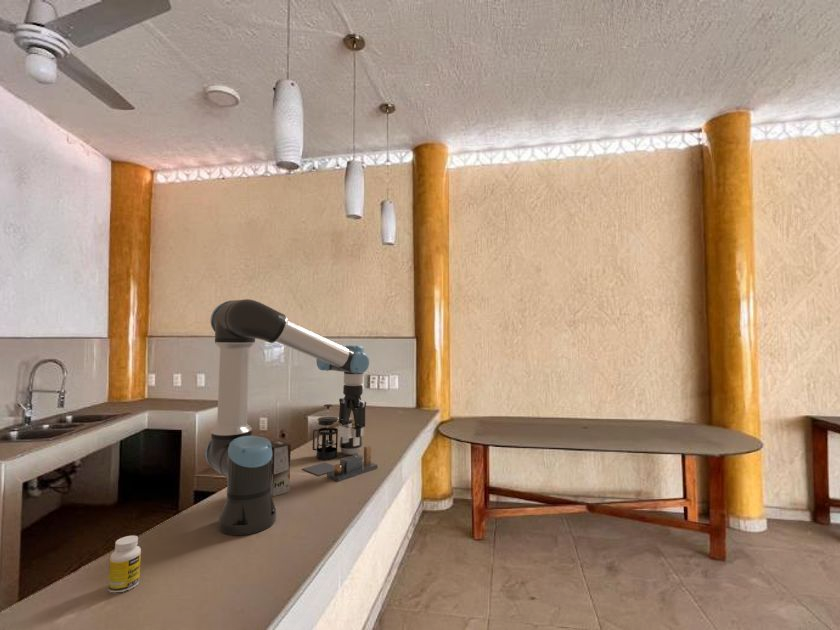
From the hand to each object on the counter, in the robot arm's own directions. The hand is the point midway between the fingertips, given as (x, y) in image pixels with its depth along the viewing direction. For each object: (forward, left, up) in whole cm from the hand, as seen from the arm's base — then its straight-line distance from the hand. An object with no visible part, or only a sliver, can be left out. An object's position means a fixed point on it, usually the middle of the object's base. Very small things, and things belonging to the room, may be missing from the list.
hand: (350, 443), depth 159 cm
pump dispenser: (+17, +20, -12) cm, 29 cm away
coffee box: (-28, +6, -12) cm, 31 cm away
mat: (-4, +12, -12) cm, 17 cm away
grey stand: (+2, 0, -12) cm, 12 cm away
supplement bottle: (-78, -18, -12) cm, 81 cm away
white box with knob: (0, 0, +3) cm, 3 cm away
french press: (+6, +24, -12) cm, 27 cm away
